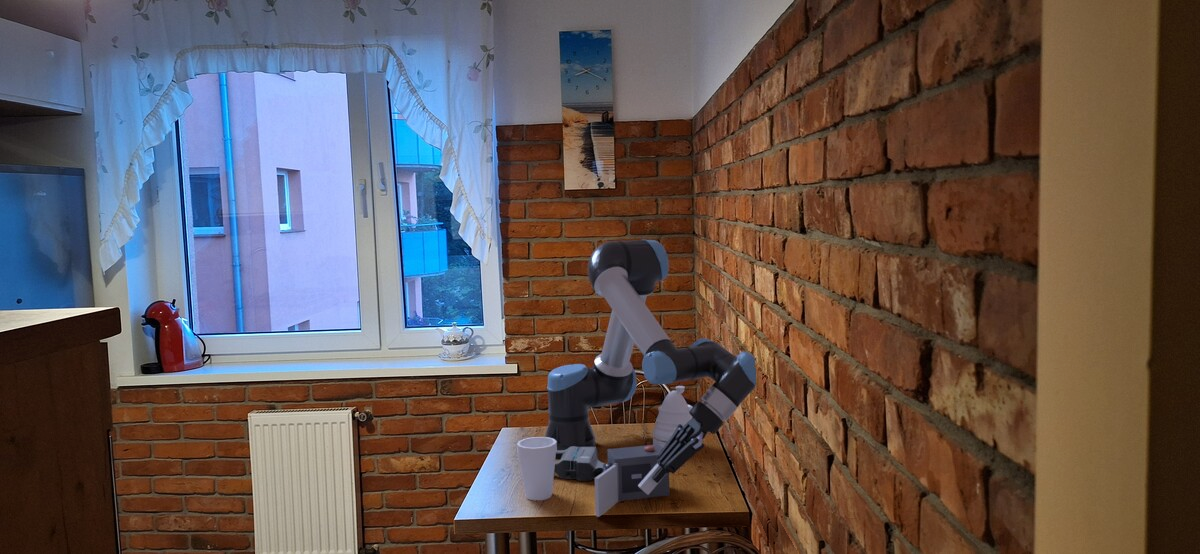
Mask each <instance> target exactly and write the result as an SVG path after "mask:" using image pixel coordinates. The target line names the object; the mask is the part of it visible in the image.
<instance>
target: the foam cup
mask: <svg viewBox="0 0 1200 554" xmlns="http://www.w3.org/2000/svg"><path fill="white" fill-rule="evenodd" d="M556 452H557V441H556V440H555V439H553V438H549V437H545V436H534V437H532V436H531V437H527V438H524V439H521V440H518V441H517V443H516V454H517V455H518V461H519V467H520V473H521V477H522V484H523V490H524V495H525V498H526V499H527V500H530V501H536V500H537V501H544V500H547V499H550V498H552V495H553V487H554V479H555V478H554V477H555V472H554V469H555V462H556V460H555V458H556Z"/></svg>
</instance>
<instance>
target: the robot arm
mask: <svg viewBox="0 0 1200 554" xmlns="http://www.w3.org/2000/svg"><path fill="white" fill-rule="evenodd" d="M669 263H670V262H669V258H668V255H667V251H666V249H665V247H664V246H663V245H662V243H660V242H659V241H657V240H653V239H646V238H645V239H644V238H643V239H640V240H618V241H617V240H612V241H606V242H604V243H602V244H600V245H599V246H597V247H596V248H595V249H594V250H593V251H592V253H591V255H590V257H589V259H588V264H587V276H588V280H589V283H590V285H591V287H592V289H593V290H594V291H595V293H596V294H597V295H599V296H600V297H603V298H604V299H605V301H606V302H607V303H608V306H609V307H610V309H611V313H610V318H609V321H608V326H607V329H606V333H605V338H604V342H603V347H602V350H601V353H600V354H598V355H597V356H596V357H595V359H594V362H593V366H591V367H588V366H587V365H585V364H583V363H574V364H565V365H562V366H559V367H556V368H553V369H552V370H551V371H550V372H549V374H547V387H546V388H547V400H548V401H547V402H548V403H547V404H548V425H547V427H546V430H545V434H544V437H549V438H553V439H555V440H556V441H557V450H559V451H560V450H566V449H568V448H569V447H571V446H575V447H596V436H595V433H594V430H593V428H592V425H591V422H590V419H589V417H590V416H589V409H591V408H595V407H596V408H597V407H603V406H610V405H618V404H620V403H624V402H627V401H629V400H630V399H631V398H632V397H633V396H634V394H635V392H636V391H637V384H638V383H637V382H638V380H636V379H637V374H636V371H635V369H634V366H633V364H632V362H631V361H630V360H631V357H632V353H633V350H634V346H635V345H636V347H637V348H638V350H639V351H640V353H641V354H642V356H643V359H642V362H641V363H642V364H641V367H642V372H643V376H644V379H646V381H647V382H648V383H649V384H651V385H656V386H657V385H658V386H659V385H669V384H673V383H679V382H683V381H684V382H685V381H689V380H690V381H691V380H697V379H704V378H710V379H711V380H713V381H714V383H712V385H711V386H710V387H708V388H707V389H706V392H705V393H704V394H703V395H702V396H701V401H697V402H696V403H695V404H694V405H692V407H693V408H692V409H691V410H690V411H689V413H690V415H691V416H692V419H691V420H690V421H688V422H687V423H686V424H685V425H684V426H682V425H681V424H679V425H678V426H677V428H676V430H675V432H674V433H673V435H672V436H671V438H670V439H669V440H668V442H667V443H666V445H665V446H664V447H663V449H662V450H661V451H660V453H659V454H658V456H657V459H658V461H657V464H656V465H655V466H654V467H653V469H652V470H651V471H650V472H649V473H648V474H647V475H646V477H645V478H644V479H643V480H642V481H641V482H640V484H639V485H638V486H639V488H640V489H642V490H643V491H644V492H645V493H646V494H647V495H649V493H650V492H651V491H652V490H653V489H654V488H655V487H656V485H657V484H658V483H659V482H660V481H661V480H662V479H663V477H664V476H665V475H666V474H667V473H669V474H670V473H671V474H675V473H676V472H677V471H678V470H679V469H680V468H681V467H683V465H684V464H686V463H687V462H688V461H689V460H690V459H691V458H692V457H693V456H694V455H695V454H696V453H698V452H699V451H700V450H702V449H704V448H705V444H704V442H703V440H704V439H705V438H706V435H707V433H710V434H711V435H714V434H716V433H717V432H718V431H719V430H720V429H721V427H722V426H723V425H724V421H728V419H730V418H731V416H732V415H733V414H734V413H735V411H736V410H737V409H738V407H739V406H740V405H741V403H742V402H744V400H745V399H746V398H747V397H748V396H749V395H750V394H751V393H752V392H753V391H754V389H756V387H755V386H756V368H755V358H756V357H755V356H754V355H753V354H751V353H750V352H748V351H745V350H743V351H741V352H740V353H739V354H737V355H734V353H731V352H730V351H729V350H727V349H726V348H725V347H723V346H721V344H719V343H717V342H716V341H713V340H711V339H710V338H705V337H702V338H698V339H697V340H696V341H694V342H693V343H691V345H690V347H683V348H682V347H681V348H678V347H677V346H676V344H674V343H673V341H672V339H670V337H669V336H668V334H667V333H666V332H665V330H664V329H663V327H662V326H661V324H660V323H659V322H658V320H657V319H656V317H655V316H654V315H653V314H652V312H651V310H650V309H649V308H648V306H647V305H646V300H647V296H648V297H649V295H651V294H653V293H654V291H655V288H656V284H657V283H659V282H663V281H664V280H666V278H667V276H668V275H669V267H670V264H669ZM754 357H755V358H754ZM684 441H685V442H686V443H685V442H684Z"/></svg>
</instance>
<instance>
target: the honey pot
mask: <svg viewBox="0 0 1200 554" xmlns="http://www.w3.org/2000/svg"><path fill="white" fill-rule="evenodd" d="M684 392H685V386H683V385H677V386H675V390H671V391H669V392H668V393H667V394H666V396H665V398H664V400H663V401H662V404H661V405H660V406H658V408H657V410H658V415H657V417H656V418H655V424H654V427H653V430H652V445H657V444H659V445H660V446H661V447H662V448H663V447H664V446H665V445H666V443H667V442H668V440H669V439H670V438H671V436H672V435H673V433H674V432H675V430H676V428H677V426H678V425H679V424H681V425H682V426H684V425H685V424H686V423H687V422H688V421H690V420H691V419H692V416H691V415H690V413H689V411H690V410H691V409H692V408H693V405H690V404H688V403H687V401H686V400H685V397H684V396H683V395H682V394H683V393H684ZM684 442H685V441H684ZM685 443H686V442H685Z"/></svg>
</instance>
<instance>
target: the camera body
mask: <svg viewBox="0 0 1200 554" xmlns="http://www.w3.org/2000/svg"><path fill="white" fill-rule="evenodd" d="M662 449H663V448H662V447H661V446H660V445H659V444H657V445H653V444H647V445H640V446H639V445H638V446H629V447H618V448H616V447H615V448H607V450H606V451H607V463H605V464H604V465H603V472H604V471H606V470H607V469H608V468H610V467H611V466H613V465H614V463H618V477H619V502H623V501H630V500H640V499H649V498H657V497H658V498H659V497H665V496H666V497H667V496H670V473H667V474H666V475H665V476H664V477H663V479H662V480H661V481H660V482H659V483H658V484H657V485H656V487H655V488H654V489H653V490H652V491H651V492H650V493H649V495H647V494H646V493H645V492H644V491H643V490H642V489H640V488H639V486H638V485H639V484H640V482H641V481H642V480H643V479H644V478H645V477H646V475H647V474H648V473H649V472H650V471H651V470H652V469H653V467H654V466H655V465H656V464H657V461H658V459H657V456H658V454H659V453H660V451H661V450H662Z"/></svg>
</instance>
